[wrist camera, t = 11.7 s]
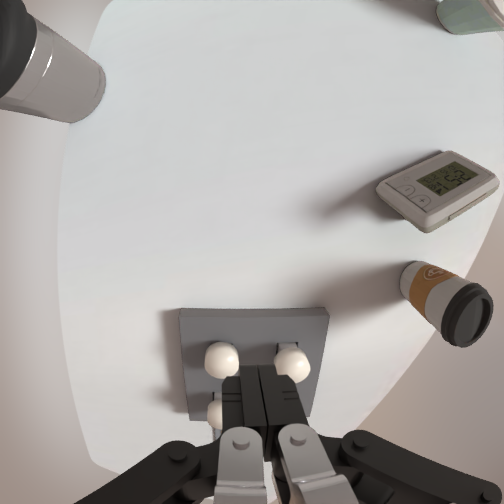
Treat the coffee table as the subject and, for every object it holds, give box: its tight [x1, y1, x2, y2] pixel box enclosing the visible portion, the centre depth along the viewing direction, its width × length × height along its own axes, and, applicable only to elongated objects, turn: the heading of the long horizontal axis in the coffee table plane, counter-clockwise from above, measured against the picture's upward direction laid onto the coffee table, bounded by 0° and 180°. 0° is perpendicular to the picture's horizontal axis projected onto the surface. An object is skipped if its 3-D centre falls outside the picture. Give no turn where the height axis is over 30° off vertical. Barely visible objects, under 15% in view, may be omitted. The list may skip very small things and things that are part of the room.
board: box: [179, 308, 330, 421], centre depth 42 cm, size 20×20×2 cm
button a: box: [205, 342, 239, 379], centre depth 39 cm, size 4×4×5 cm
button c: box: [274, 342, 310, 383], centre depth 38 cm, size 4×4×5 cm
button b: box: [207, 392, 222, 430], centre depth 40 cm, size 4×4×5 cm
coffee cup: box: [400, 261, 493, 348], centre depth 35 cm, size 8×8×15 cm
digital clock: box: [376, 151, 500, 233], centre depth 33 cm, size 16×9×11 cm, turn 104°
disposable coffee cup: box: [436, 0, 504, 35], centre depth 23 cm, size 11×11×15 cm
